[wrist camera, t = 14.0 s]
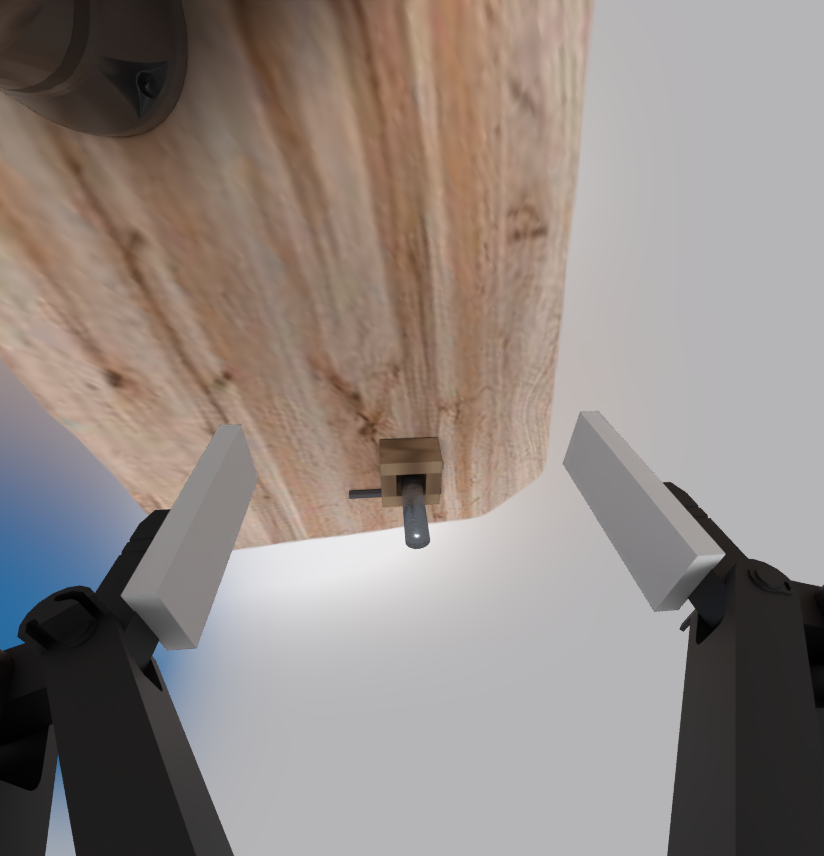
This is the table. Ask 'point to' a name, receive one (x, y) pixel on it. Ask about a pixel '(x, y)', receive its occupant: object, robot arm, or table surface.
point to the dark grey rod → (367, 494)
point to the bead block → (410, 468)
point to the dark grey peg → (414, 511)
